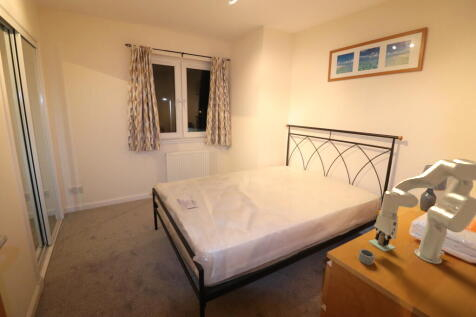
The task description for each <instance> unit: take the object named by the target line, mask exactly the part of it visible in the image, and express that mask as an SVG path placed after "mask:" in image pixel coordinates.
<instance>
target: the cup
mask: <svg viewBox="0 0 476 317" xmlns="http://www.w3.org/2000/svg"><path fill="white" fill-rule="evenodd" d="M375 257H376V255H375V253H374V252H372V251H371V250H368V249H365V248H361V249H359V251H358V254H357V259H359V260H360V261H359V260H358V261H359V262H360V263H362V264H364V265H368V266H370V265H373V264H374V261H375Z"/></svg>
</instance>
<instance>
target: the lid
mask: <svg viewBox="0 0 476 317" xmlns="http://www.w3.org/2000/svg"><path fill="white" fill-rule="evenodd" d="M384 239H385V233H380V234H379V239H378V241H377V240H376V239H375V238H374V239H370V240H368V243H369V244H371V245H372V246H374V247H376V248H377V249H378V250H380V251H382V252H388V251H391V250H396V246H394V245H392V244H391V243H389V244H388V245H385V246H384V245H383V241H384Z"/></svg>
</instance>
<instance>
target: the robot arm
mask: <svg viewBox="0 0 476 317" xmlns="http://www.w3.org/2000/svg"><path fill="white" fill-rule="evenodd" d="M447 178H451V179H452V181H451V183H450V184H449V186H448V187H447V189H446V190H445V191H444V193H443V195H441V198H440V202H441V203H442V205H444V206H446V207H448V208H451V209H452V210H455V211H452V210H450V209H448V208H446V207H443V206H440V205H432V206H430V207H429V208H428V209H427V212H426V223H425V227H424V230H423V232H422V236H421V239H420V243H419V246H418V248H415V249H414V251H413V252H414V255H415V256H416V257H417V258H420V259H421V260H423V261H425V262H427V263H430V264H435V265H440V264H442V262H443V260H442V258H441V257H440V256H444V255H445V251H443V247H444V243H445V241H446V237H447V235H448V230H449V231H451V232H452V233H456V234H457V233H461V232H464V230H466V229H467V227H468V226H469V225H470V224H471V222H472V221H473V220H474V218H475V217H476V198H475V197H473V196H470V194H471V192H472V190H473V188H474V181H476V161H474V160H470V159H465V158H454V159H452V160H451V159H439V160H438V161H437V162H436V163H434V164H432V166H430V167H429V168H428V169H426V170H425V171H423V173H421V174H420V175H418V176H414V177H411V178H406V179H404V180H402V181H400V182H399V183H398V184H396V185H395V186H394V187H392V188H391V189H390V190H386V191H384V194H383V199H382V204H381V207H380V208H381V209H380V212H379V213H378V214H377V218H376V222H375V223H374V224H373V227H374V228H375V230H376V232H375V233H376V234H377V238H376V240H377V241H378V239H379V234H380V233H382V232H384V233H385V239H384V241H383V245H384V246H385V245H388V244H390V241H391V240H394V239H395V240H396V239H397V232H398V224H399V222H398V218H399V215H398V212H399V209H400V208H399V207H403V208H408V209H410V208H415V207H417V206H418V204H419V199H418V197H417V196H416V195H415V194H413V193H410V192H408V191H411V190H415V189H433V188H436V187H437V186H439V185H440V184H441V183H442V182H443V181H445V180H446V179H447ZM388 235H389V237H388Z"/></svg>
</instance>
